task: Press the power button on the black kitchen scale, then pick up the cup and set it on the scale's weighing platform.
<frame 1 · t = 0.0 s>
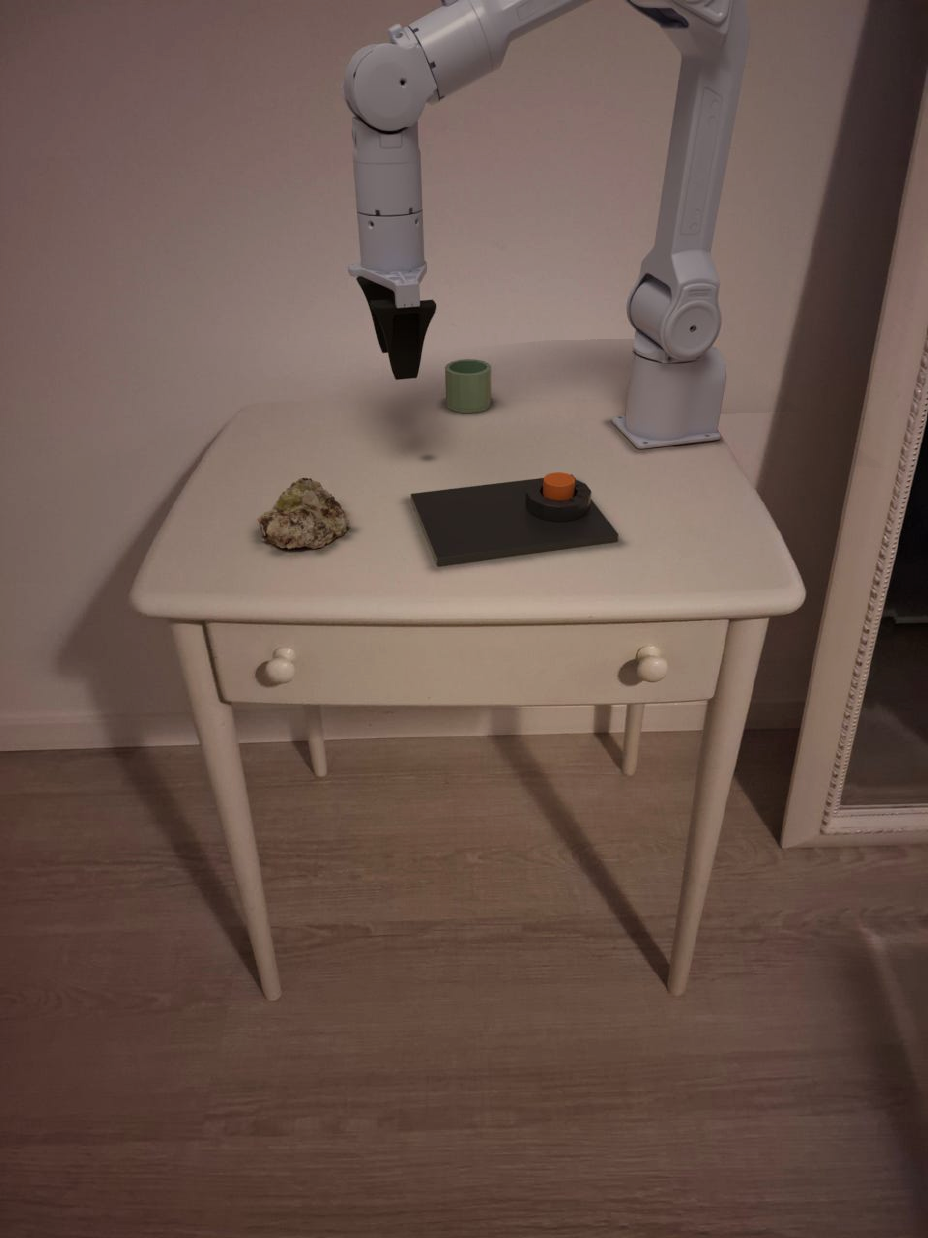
hand: (398, 364, 83), 10 cm above the table, tool pointing down, fingers open, 7 cm apart
power button: (558, 486, 78), point 3 cm above the table, slide at 0.1 cm
mineral rock: (306, 527, 78), on the table
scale: (509, 521, 78), on the table
cup: (468, 404, 101), on the table
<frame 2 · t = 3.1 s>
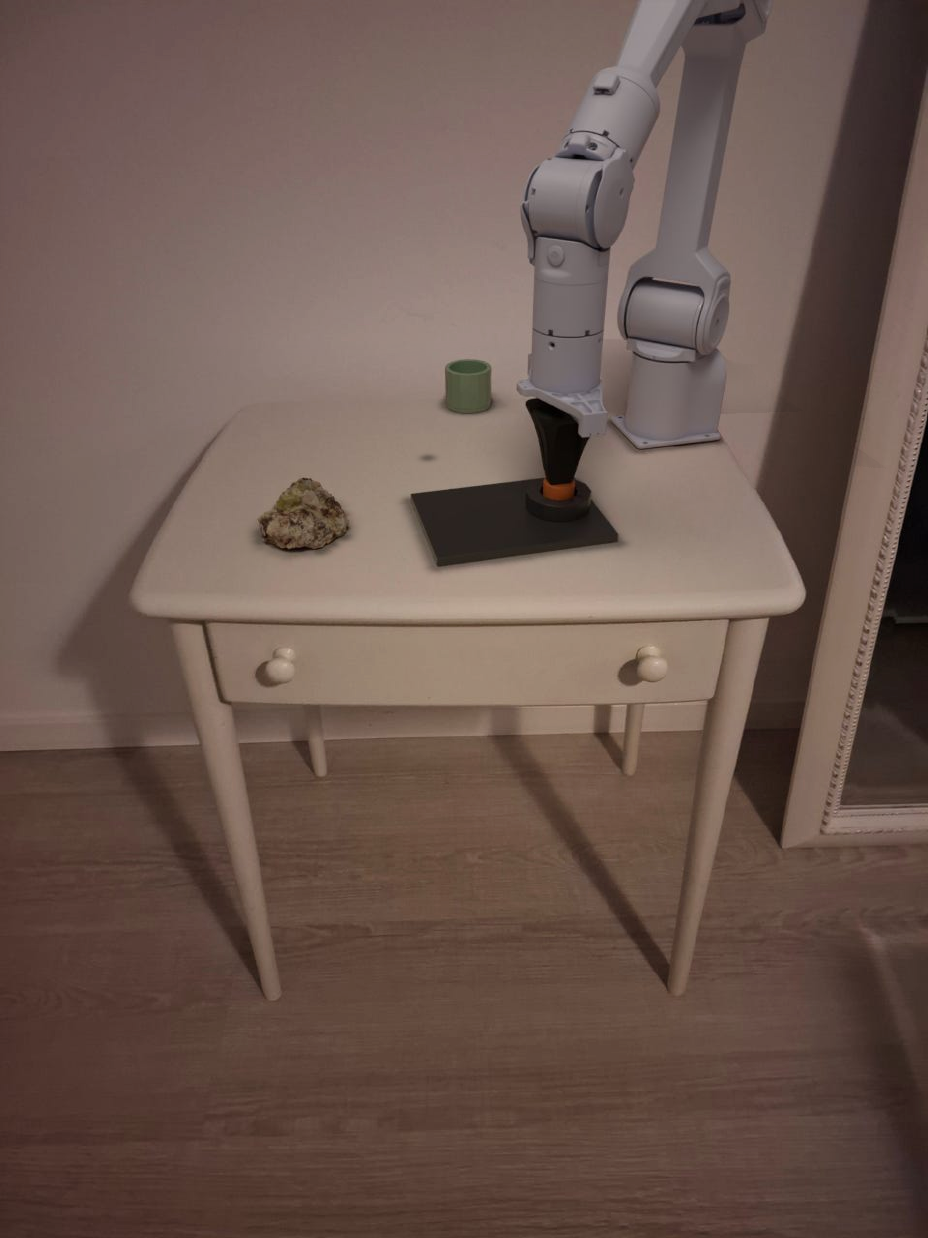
hand: (559, 481, 77), 3 cm above the table, tool pointing down, fingers closed, pressing on power button
power button: (558, 488, 78), point 3 cm above the table, slide at 0.0 cm, touching gripper
everything else where it was.
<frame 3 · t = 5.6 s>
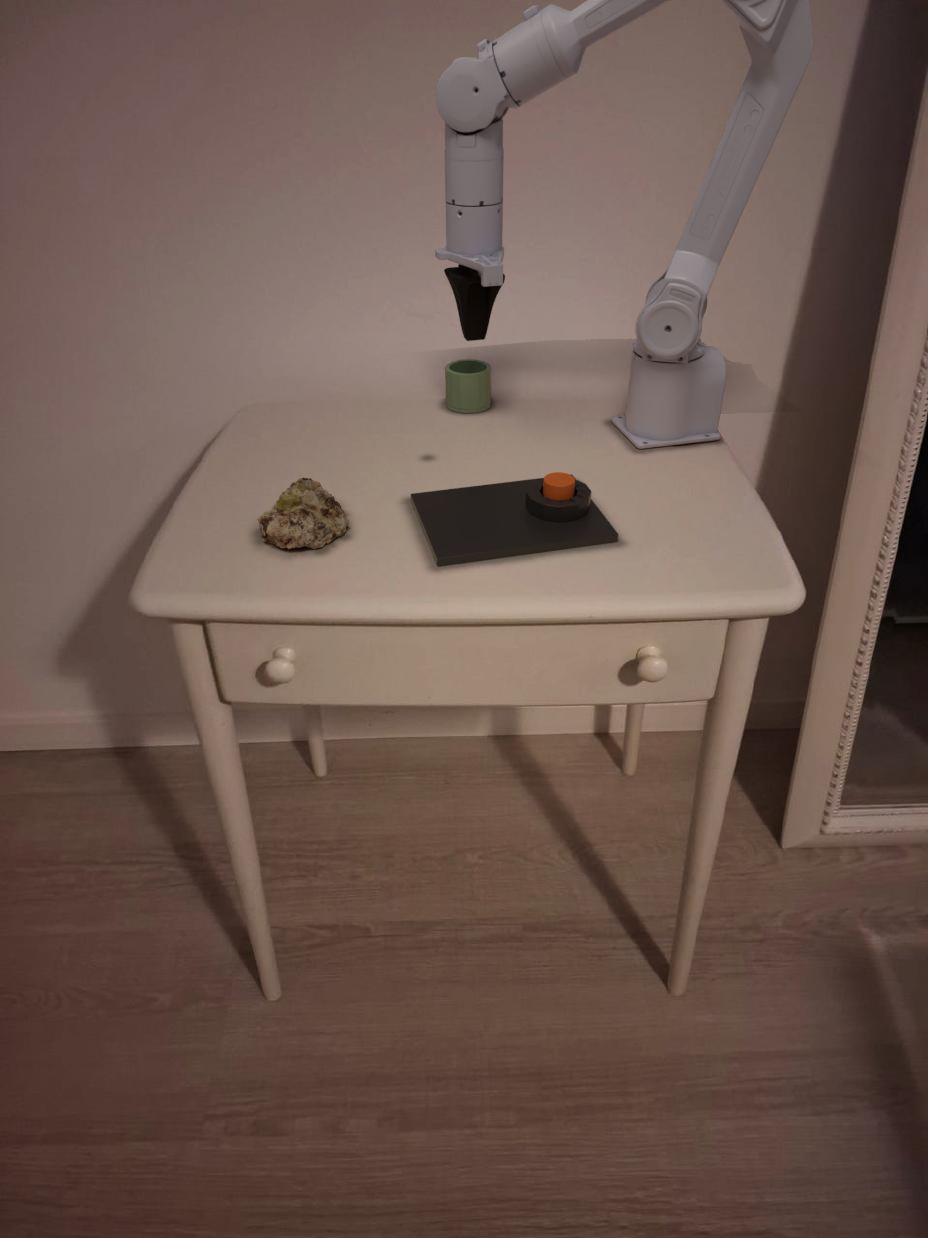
hand: (474, 338, 94), 9 cm above the table, tool pointing down, fingers closed
power button: (558, 486, 78), point 3 cm above the table, slide at 0.1 cm
everything else where it was.
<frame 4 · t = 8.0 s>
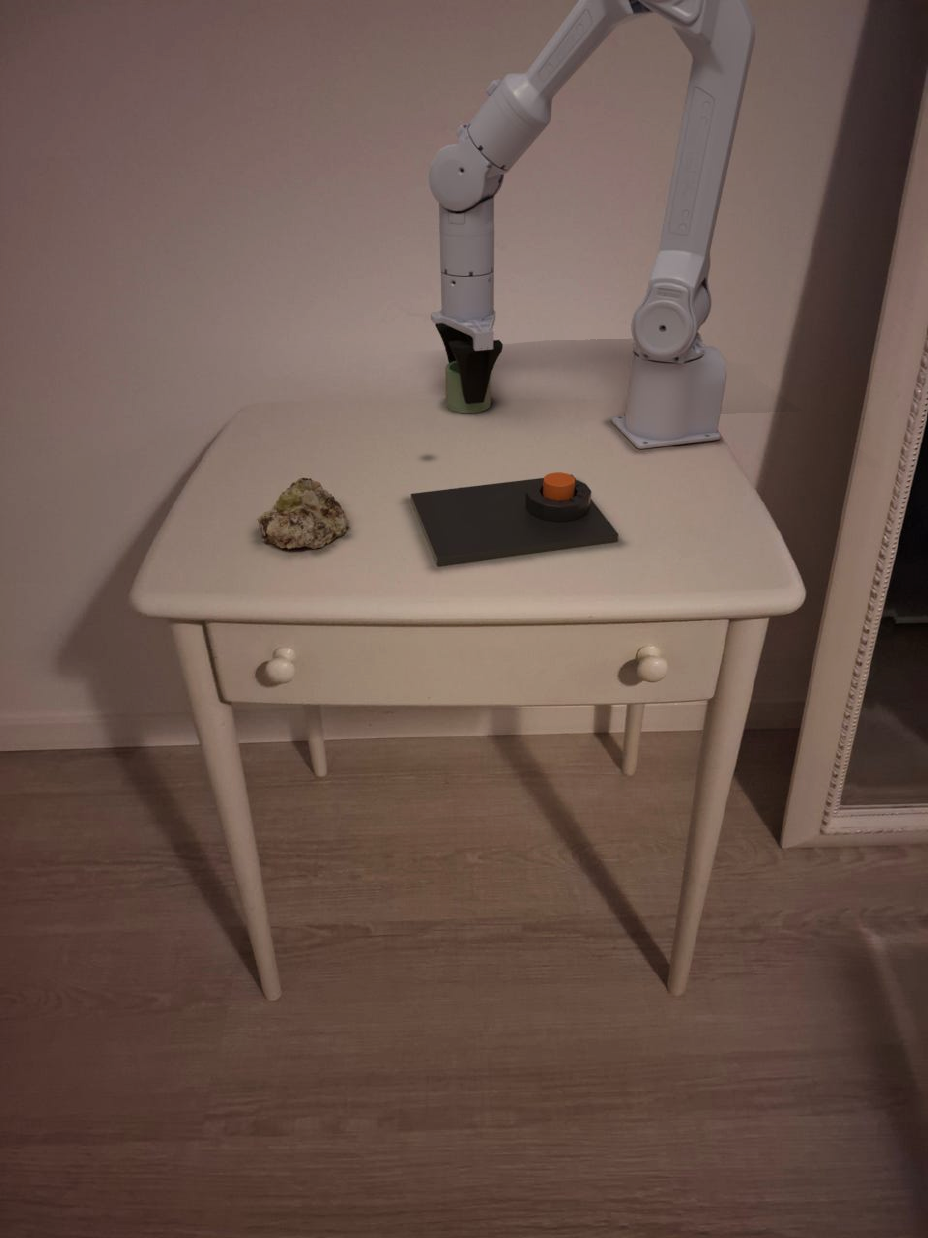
hand: (468, 392, 100), 1 cm above the table, tool pointing down, fingers closed on cup, 5 cm apart
cup: (468, 404, 101), on the table, touching gripper
everything else where it was.
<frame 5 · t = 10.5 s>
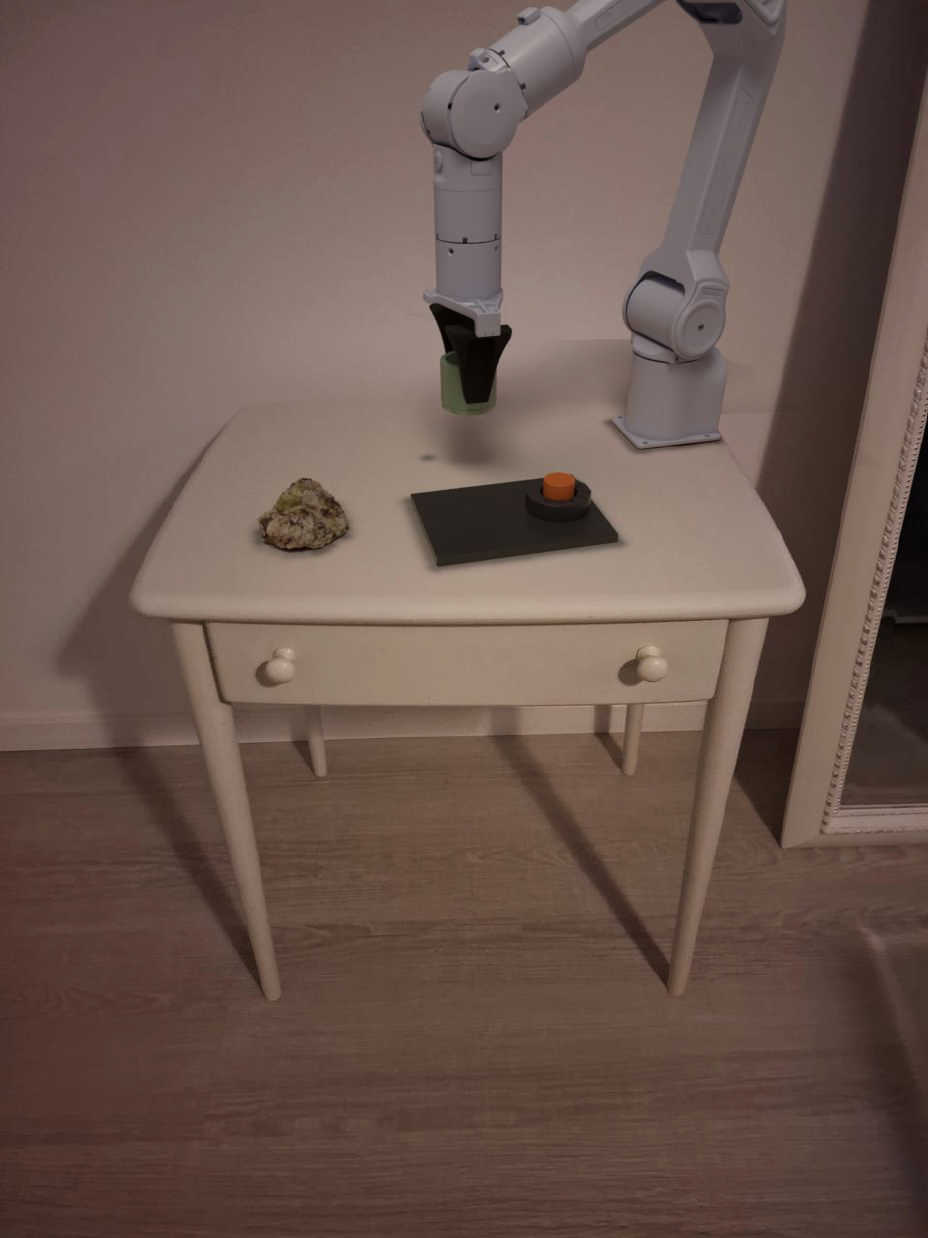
hand: (469, 390, 82), 8 cm above the table, tool pointing down, fingers closed on cup, 5 cm apart
cup: (468, 404, 83), point 7 cm above the table, touching gripper
everything else where it was.
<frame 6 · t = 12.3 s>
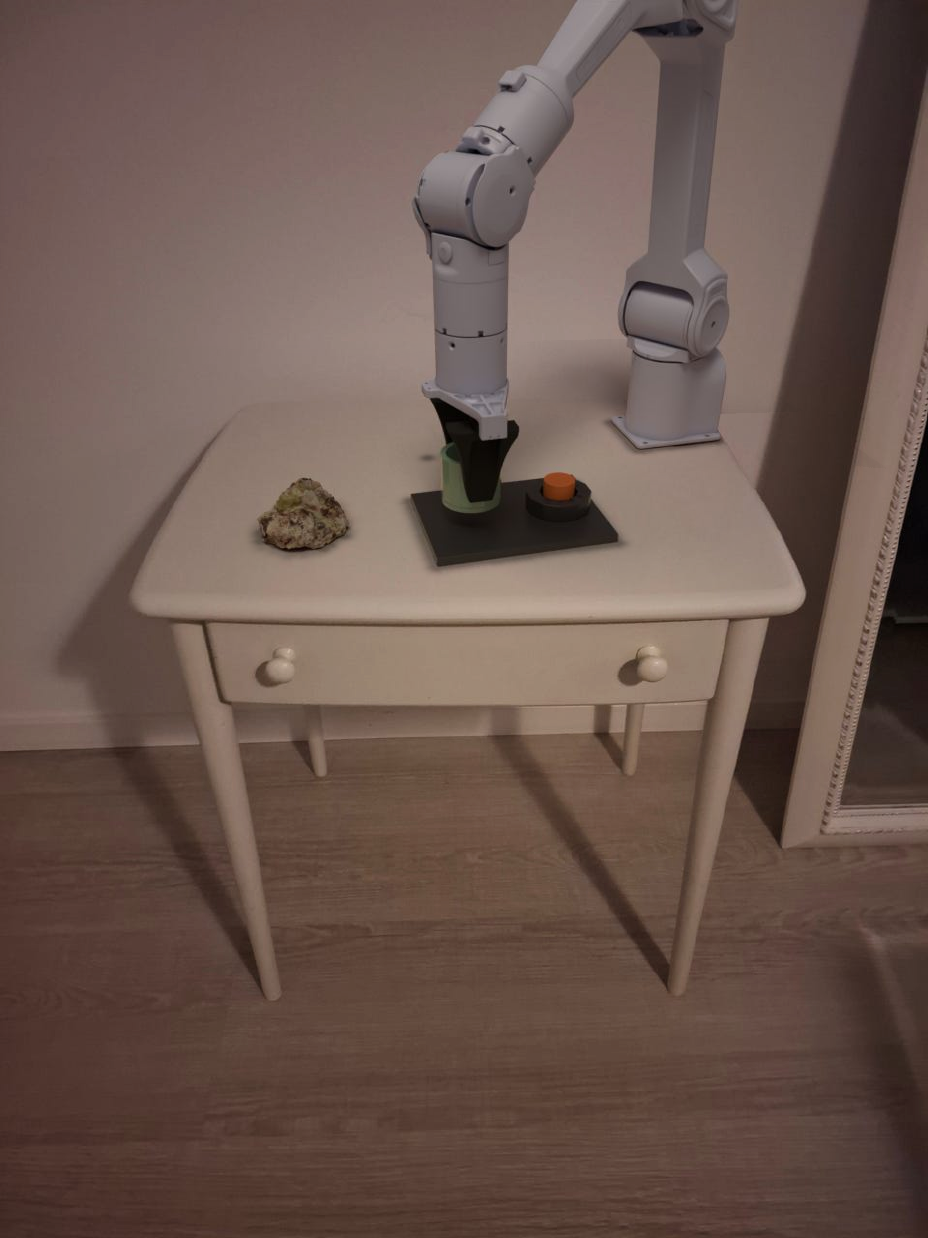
hand: (472, 484, 75), 4 cm above the table, tool pointing down, fingers closed on cup, 5 cm apart
cup: (471, 499, 76), point 3 cm above the table, touching gripper
everything else where it was.
when the fingers open (2 cm above the table, at t = 13.4 s): cup stays where it is, resting on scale.
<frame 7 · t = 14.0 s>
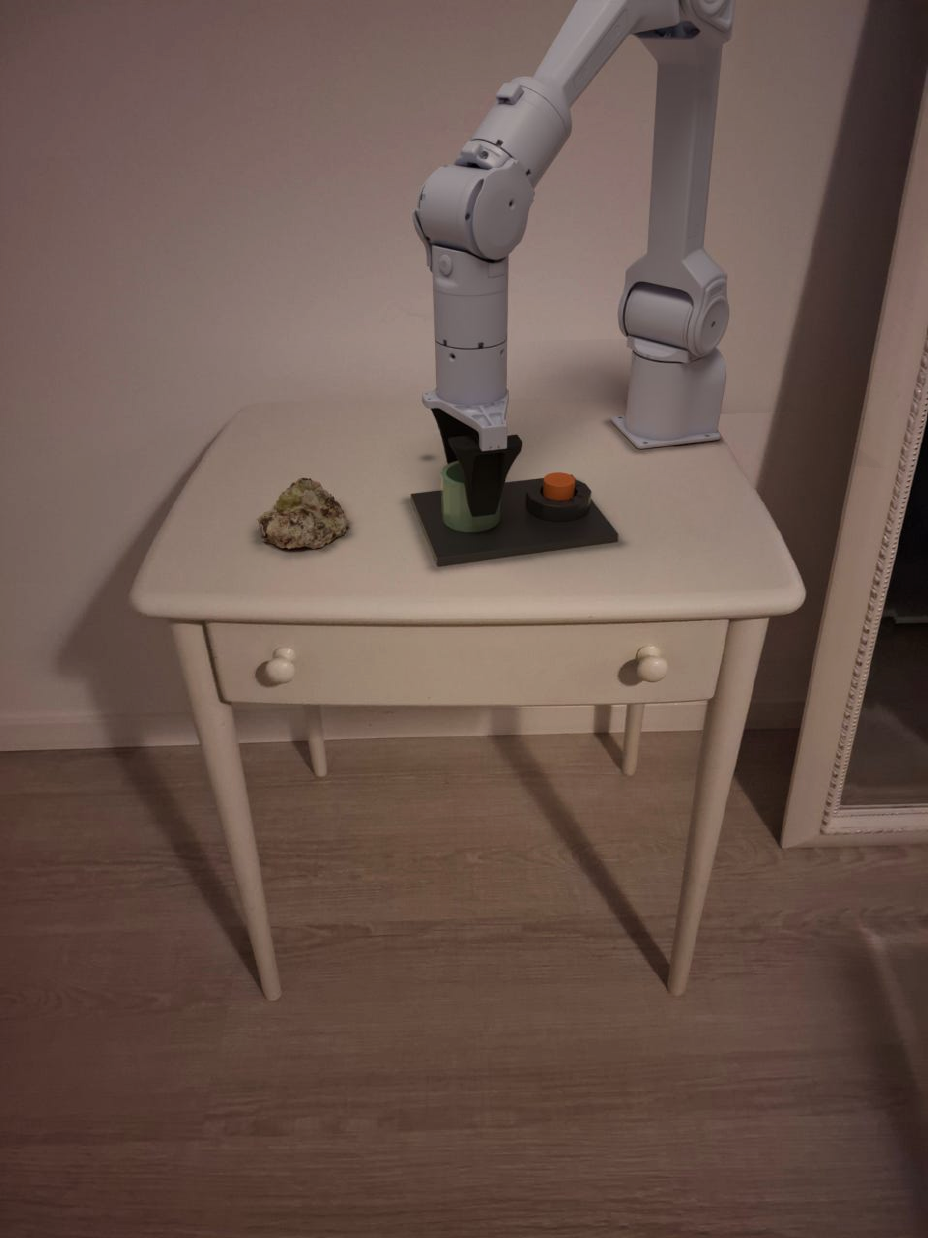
hand: (472, 493, 76), 3 cm above the table, tool pointing down, fingers open, 7 cm apart
cup: (471, 518, 77), point 1 cm above the table, touching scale
everything else where it was.
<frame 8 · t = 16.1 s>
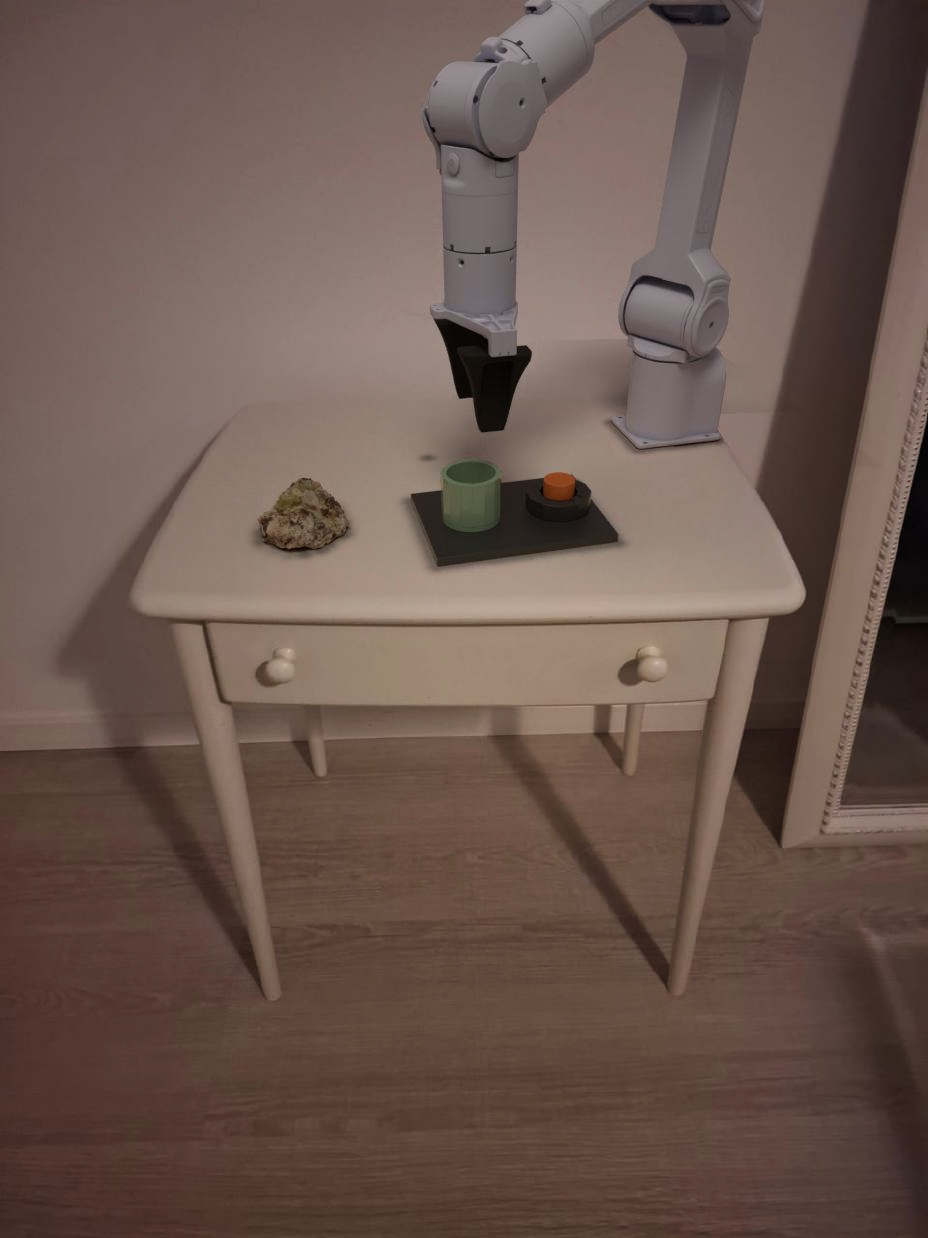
hand: (480, 412, 75), 9 cm above the table, tool pointing down, fingers open, 7 cm apart
nothing on the table moved.
at the end: power button pushed in 1.0 cm at the most during the clip, back to where it started at the end; cup 0.2 cm from the target spot on the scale, point 0.9 cm above the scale's base; cup touching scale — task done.
